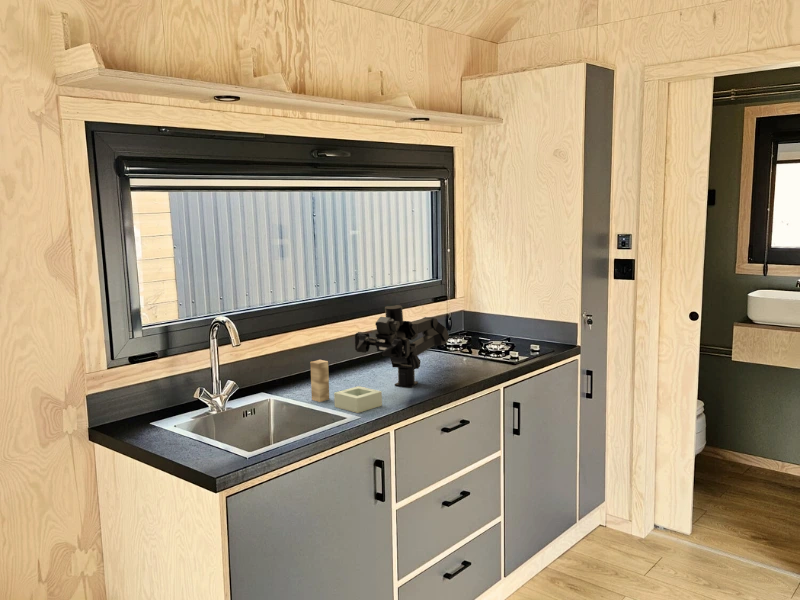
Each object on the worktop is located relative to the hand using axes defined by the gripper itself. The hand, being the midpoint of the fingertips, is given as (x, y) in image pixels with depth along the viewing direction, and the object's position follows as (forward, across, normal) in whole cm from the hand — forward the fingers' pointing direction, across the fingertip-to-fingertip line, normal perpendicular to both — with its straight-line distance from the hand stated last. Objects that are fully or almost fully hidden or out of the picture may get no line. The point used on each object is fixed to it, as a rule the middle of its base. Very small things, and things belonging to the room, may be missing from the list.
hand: (369, 352), depth 223 cm
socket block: (+6, -1, +16) cm, 17 cm away
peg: (+4, -16, +17) cm, 24 cm away
